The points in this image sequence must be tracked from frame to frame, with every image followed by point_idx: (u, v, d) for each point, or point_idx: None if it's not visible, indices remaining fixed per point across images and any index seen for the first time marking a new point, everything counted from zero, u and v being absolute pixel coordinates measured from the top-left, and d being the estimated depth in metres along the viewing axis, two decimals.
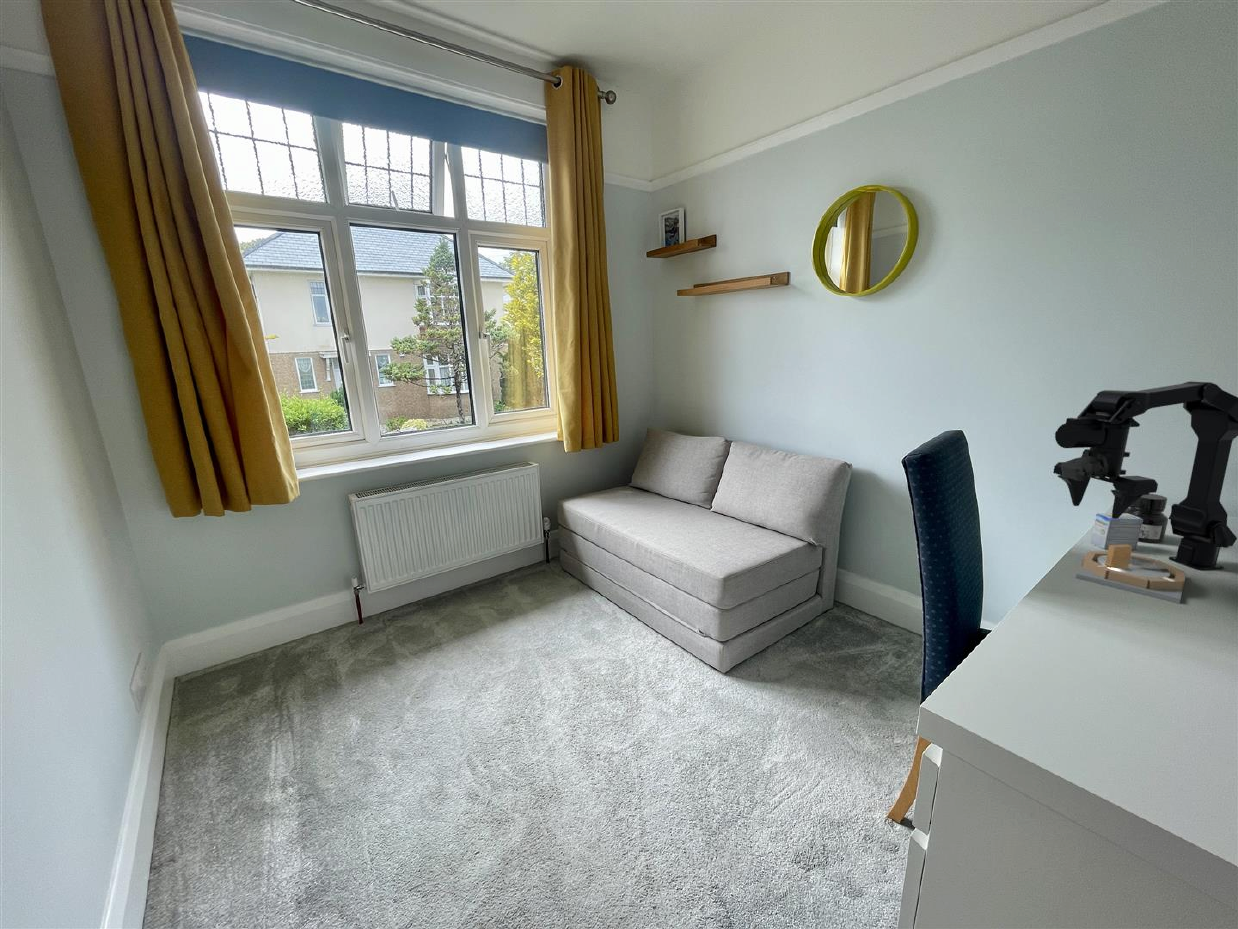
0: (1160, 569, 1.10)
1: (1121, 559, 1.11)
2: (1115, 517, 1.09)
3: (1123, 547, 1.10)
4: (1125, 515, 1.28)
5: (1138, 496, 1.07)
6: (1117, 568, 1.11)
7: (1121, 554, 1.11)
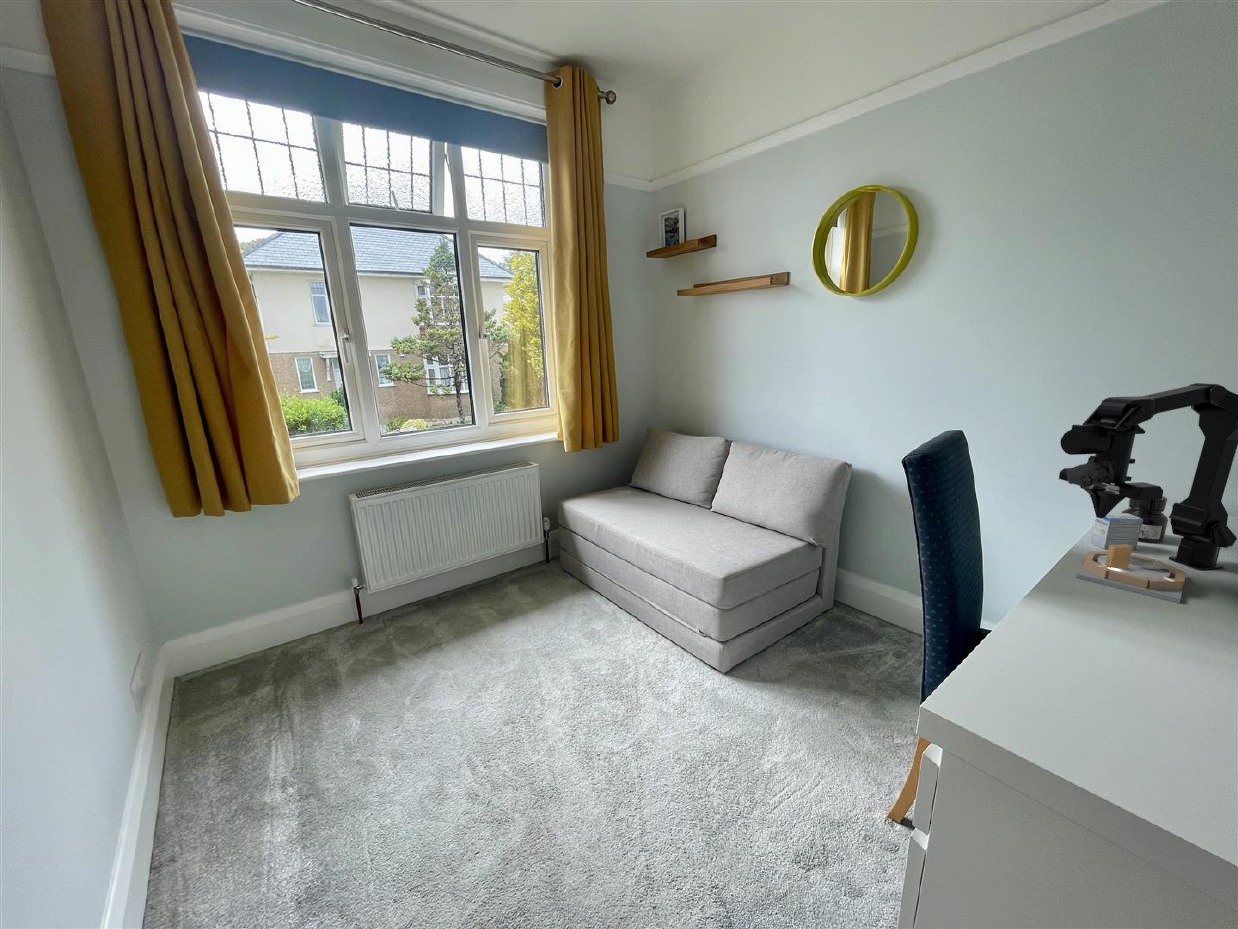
0: (1160, 569, 1.10)
1: (1121, 559, 1.11)
2: (1101, 517, 1.14)
3: (1123, 547, 1.10)
4: (1125, 515, 1.28)
5: (1123, 497, 1.12)
6: (1117, 568, 1.11)
7: (1121, 554, 1.11)
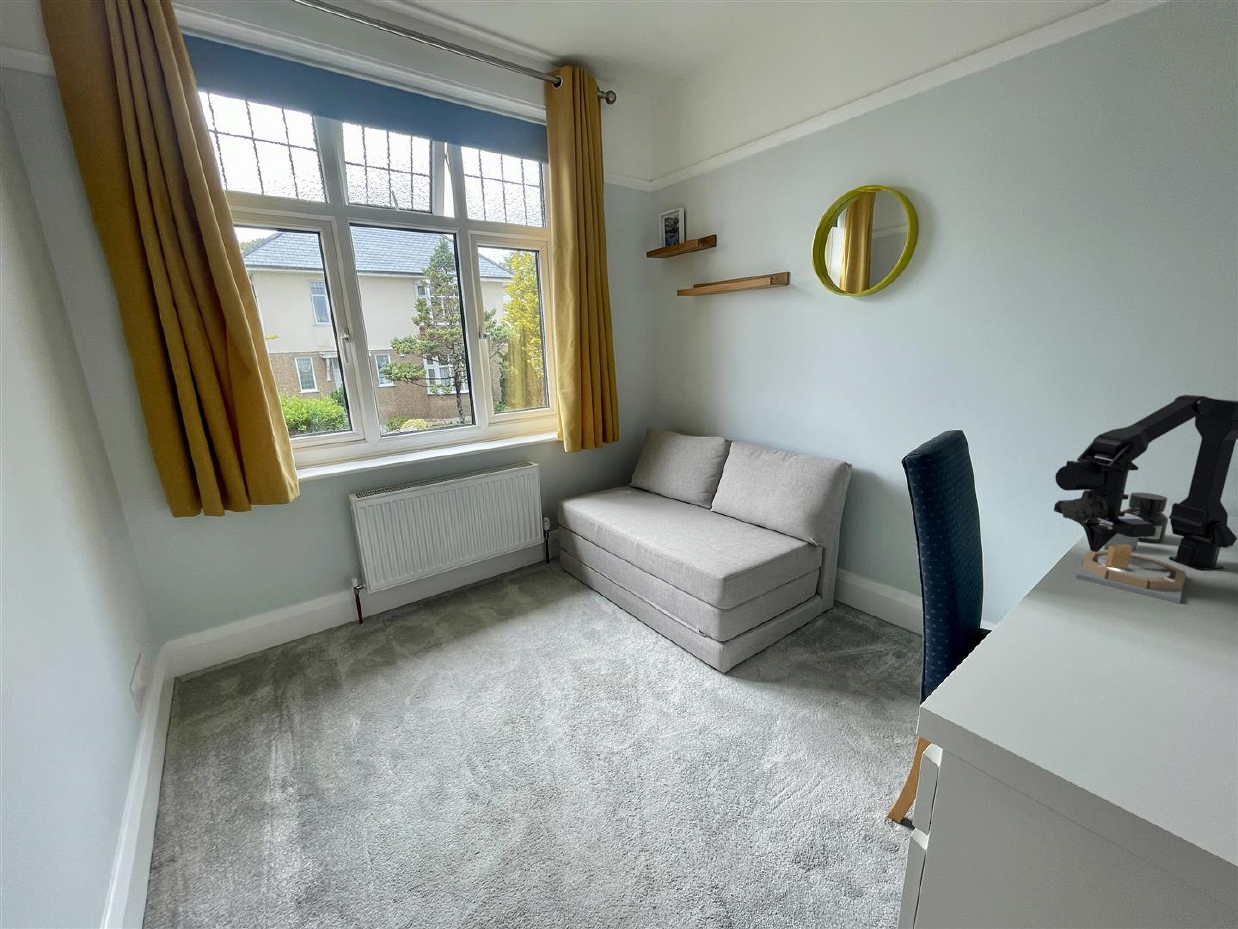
0: (1160, 569, 1.10)
1: (1121, 559, 1.11)
2: (1095, 550, 1.16)
3: (1123, 547, 1.10)
4: (1125, 515, 1.28)
5: None
6: (1117, 568, 1.11)
7: (1121, 554, 1.11)
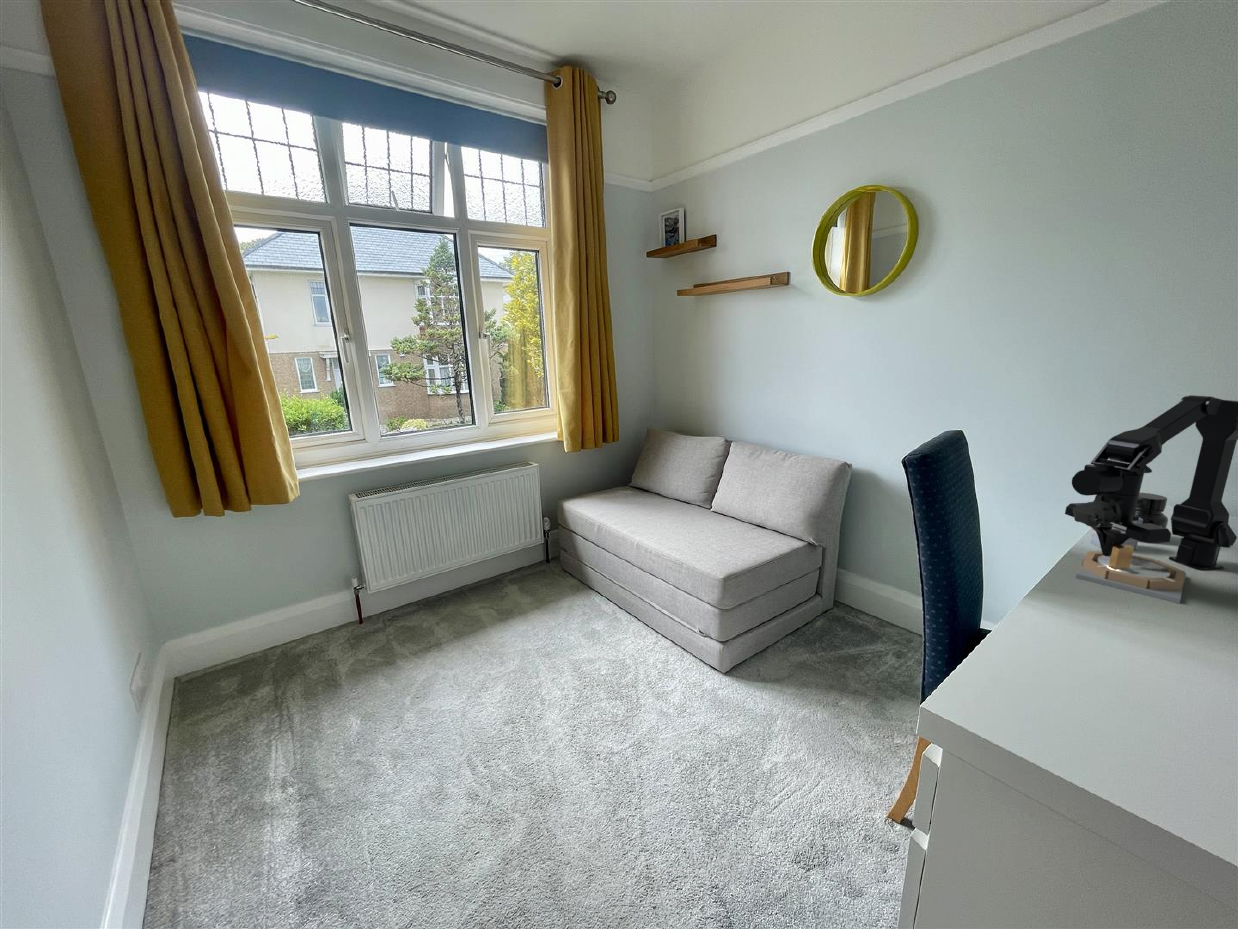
0: (1158, 567, 1.10)
1: (1124, 560, 1.10)
2: (1106, 555, 1.13)
3: (1126, 548, 1.10)
4: None
5: None
6: (1121, 569, 1.10)
7: (1124, 555, 1.10)
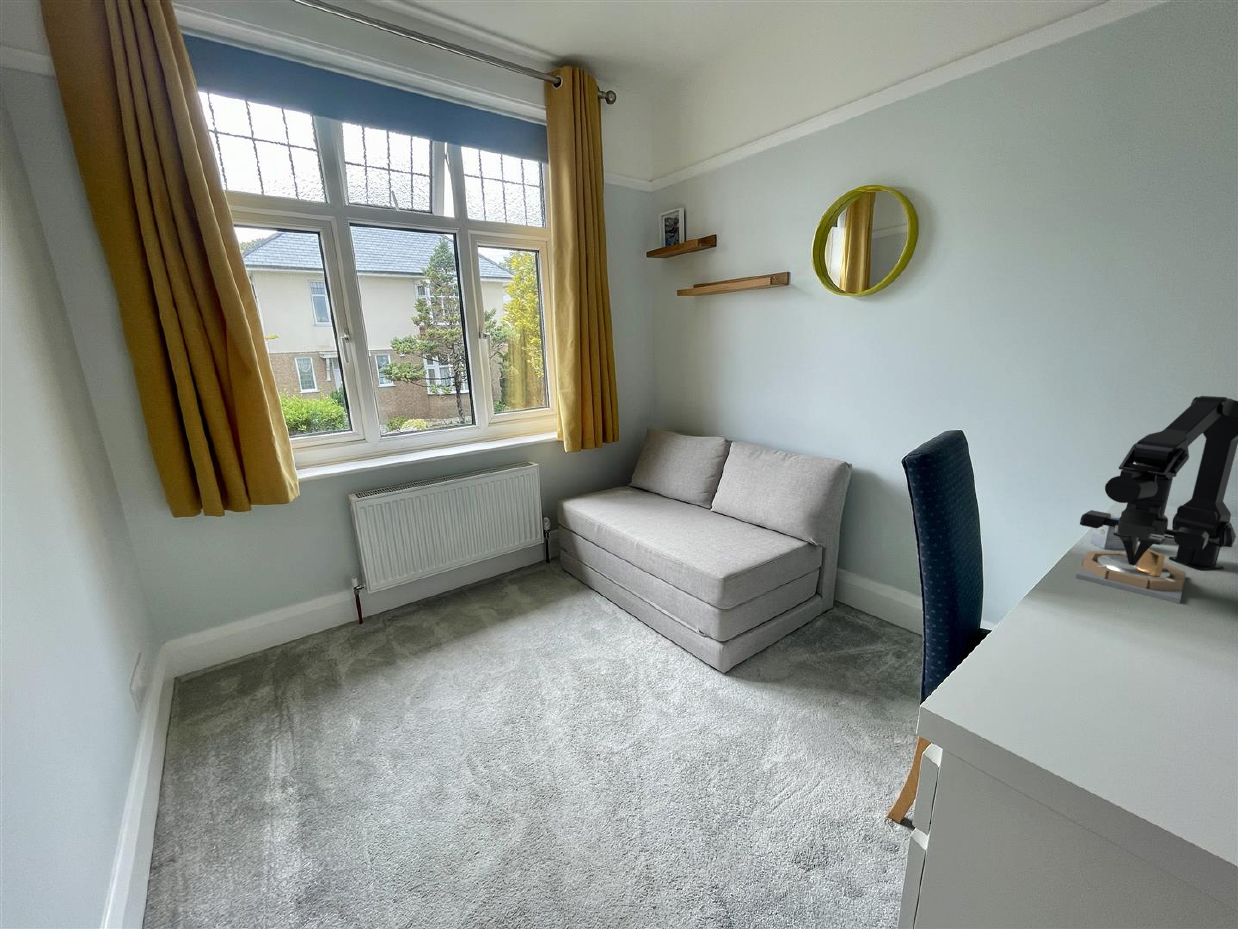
0: None
1: None
2: (1135, 564, 1.08)
3: None
4: None
5: None
6: None
7: None
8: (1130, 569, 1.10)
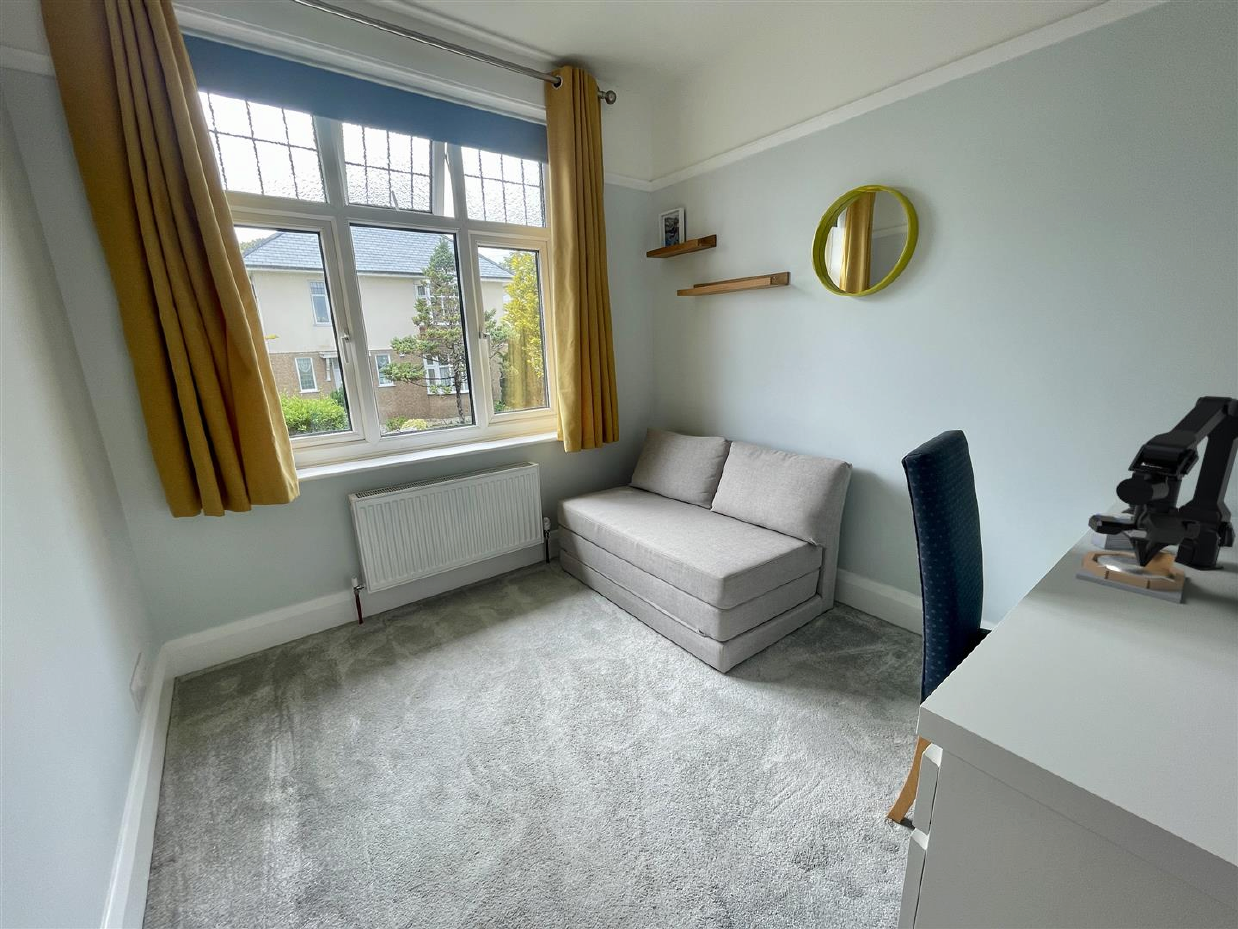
0: (1116, 557, 1.16)
1: None
2: None
3: None
4: (1125, 515, 1.28)
5: None
6: None
7: None
8: (1141, 571, 1.09)
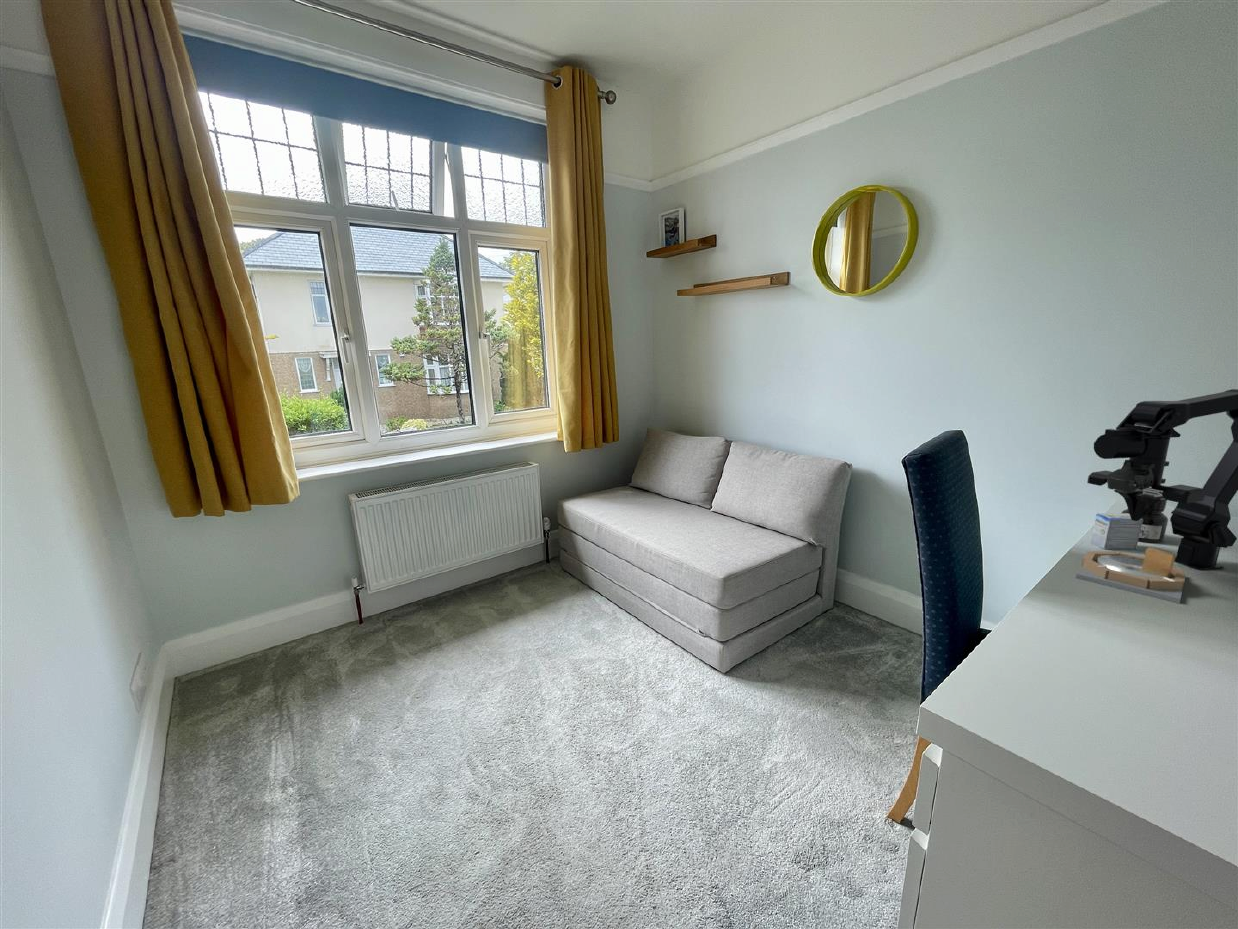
0: (1116, 557, 1.16)
1: None
2: (1137, 520, 1.15)
3: None
4: (1125, 515, 1.28)
5: (1157, 499, 1.13)
6: None
7: None
8: (1141, 571, 1.09)
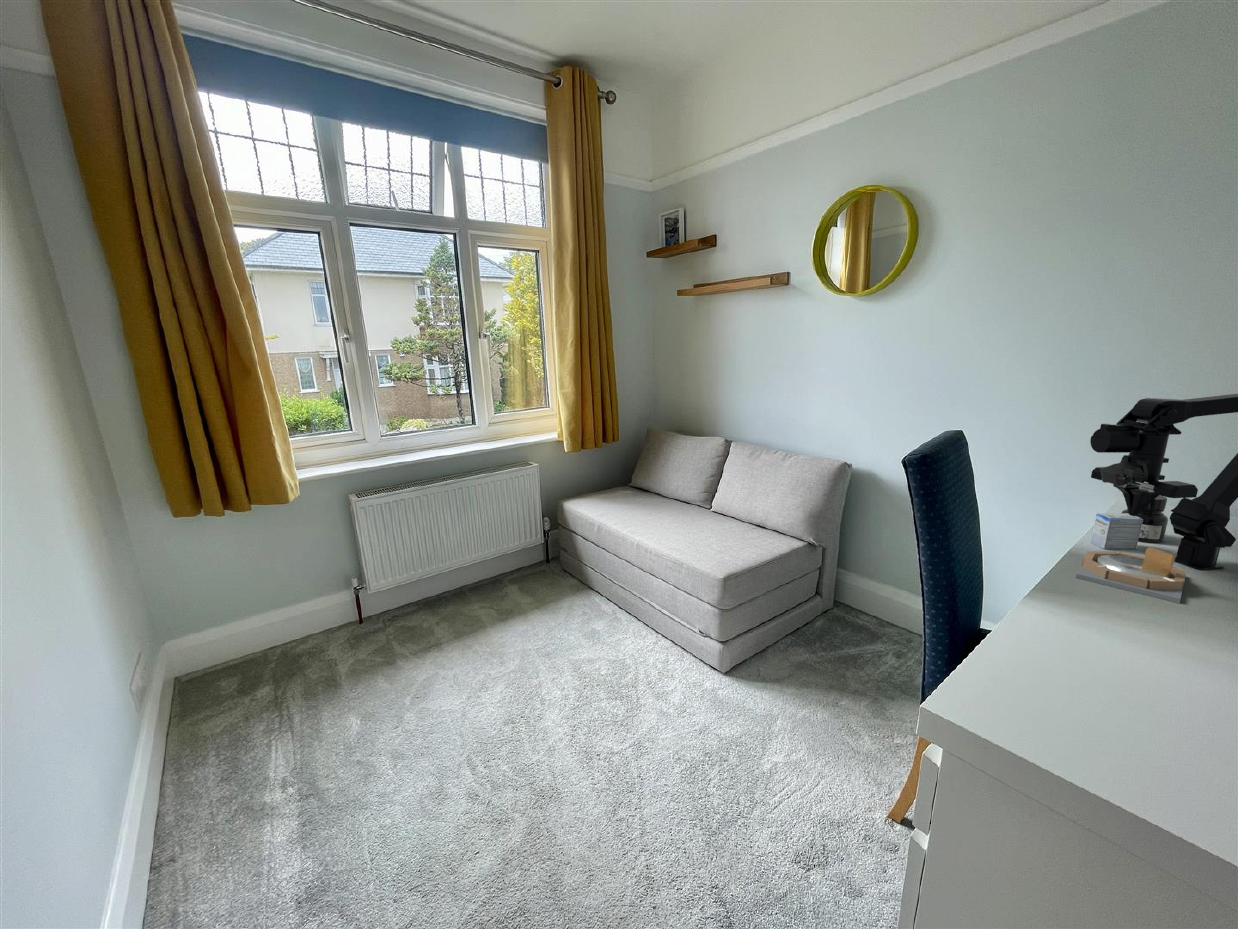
0: (1116, 557, 1.16)
1: None
2: (1134, 515, 1.17)
3: None
4: (1125, 515, 1.28)
5: (1156, 495, 1.15)
6: None
7: None
8: (1141, 571, 1.09)
